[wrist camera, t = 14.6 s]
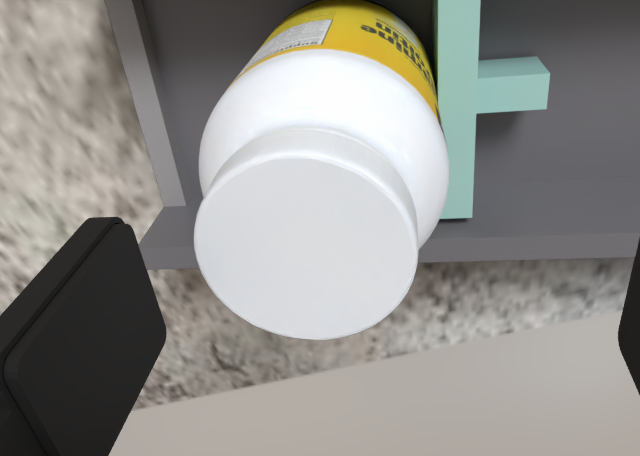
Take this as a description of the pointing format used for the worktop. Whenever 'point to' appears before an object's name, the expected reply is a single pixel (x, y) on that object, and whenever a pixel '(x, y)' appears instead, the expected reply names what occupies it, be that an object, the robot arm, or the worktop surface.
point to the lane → (416, 9)
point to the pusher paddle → (474, 91)
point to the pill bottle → (322, 173)
